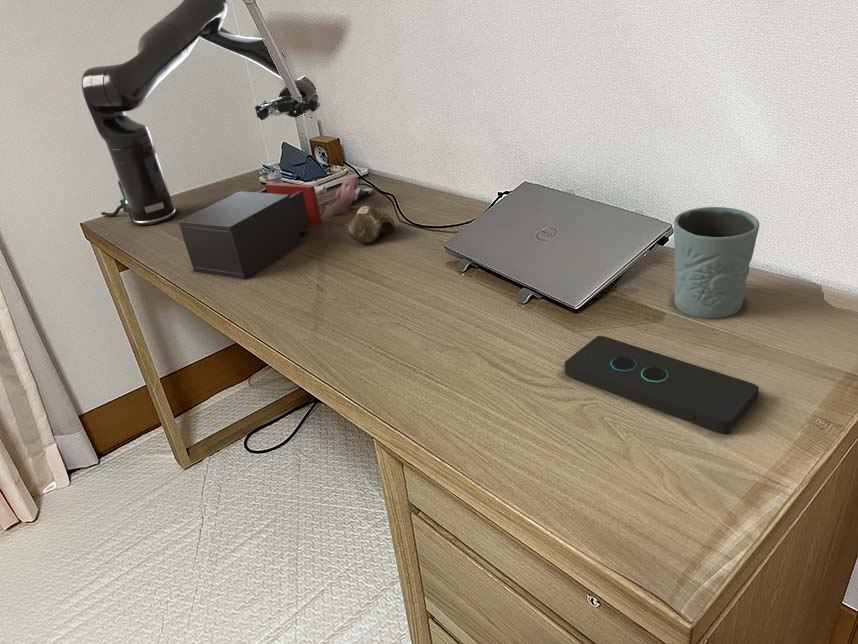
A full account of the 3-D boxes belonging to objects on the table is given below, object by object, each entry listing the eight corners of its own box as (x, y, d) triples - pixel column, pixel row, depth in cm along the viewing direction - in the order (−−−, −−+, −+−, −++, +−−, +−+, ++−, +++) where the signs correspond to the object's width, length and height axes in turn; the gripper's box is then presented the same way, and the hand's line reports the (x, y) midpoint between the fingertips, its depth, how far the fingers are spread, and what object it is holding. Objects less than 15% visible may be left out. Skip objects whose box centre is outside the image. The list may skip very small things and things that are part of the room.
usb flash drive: (350, 205, 148) (350, 201, 147) (332, 203, 150) (331, 199, 150) (374, 192, 154) (374, 187, 153) (356, 190, 156) (355, 186, 156)
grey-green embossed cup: (692, 280, 100) (697, 201, 94) (763, 298, 93) (773, 214, 87) (655, 309, 94) (658, 227, 88) (728, 330, 87) (737, 242, 81)
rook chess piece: (295, 203, 154) (287, 168, 150) (286, 211, 150) (277, 175, 147) (278, 203, 156) (270, 169, 152) (268, 211, 152) (259, 175, 148)
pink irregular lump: (350, 221, 144) (359, 191, 140) (329, 214, 143) (337, 184, 140) (354, 203, 152) (363, 174, 149) (334, 196, 152) (343, 167, 148)
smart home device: (599, 332, 87) (761, 384, 74) (599, 344, 88) (760, 397, 75) (561, 363, 82) (727, 423, 69) (561, 375, 83) (726, 436, 70)
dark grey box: (251, 237, 139) (239, 191, 134) (301, 243, 132) (289, 194, 128) (193, 271, 127) (177, 221, 122) (244, 279, 121) (230, 226, 116)
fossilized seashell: (381, 210, 135) (338, 234, 132) (381, 188, 130) (336, 212, 126) (404, 236, 133) (360, 260, 129) (405, 214, 127) (360, 239, 123)
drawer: (296, 208, 148) (288, 172, 144) (340, 212, 142) (332, 175, 139) (229, 247, 133) (217, 208, 129) (274, 253, 127) (264, 212, 123)
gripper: (329, 110, 169) (312, 127, 155) (274, 116, 171) (252, 133, 157) (323, 78, 165) (305, 92, 151) (267, 85, 167) (244, 99, 153)
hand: (278, 113), depth 154 cm, fingers open, 8 cm apart
